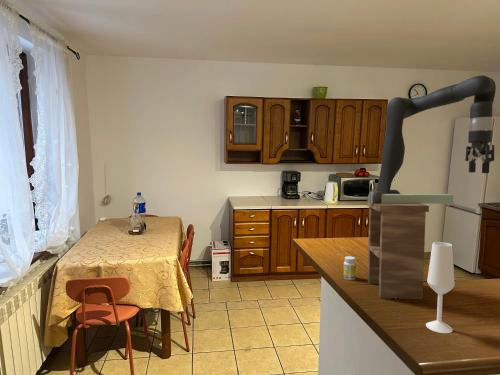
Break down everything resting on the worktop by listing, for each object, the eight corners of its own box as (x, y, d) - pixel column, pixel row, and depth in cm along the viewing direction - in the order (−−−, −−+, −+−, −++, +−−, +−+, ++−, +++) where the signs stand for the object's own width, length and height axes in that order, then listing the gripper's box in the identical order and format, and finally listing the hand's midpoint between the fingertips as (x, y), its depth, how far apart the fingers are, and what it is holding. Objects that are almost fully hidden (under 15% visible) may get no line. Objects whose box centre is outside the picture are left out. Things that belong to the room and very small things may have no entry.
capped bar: (367, 202, 125) (368, 191, 125) (447, 202, 123) (447, 191, 123) (371, 203, 121) (371, 192, 120) (454, 203, 119) (454, 192, 119)
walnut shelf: (365, 281, 133) (366, 200, 131) (407, 282, 132) (409, 200, 130) (377, 298, 117) (379, 205, 115) (425, 299, 116) (428, 205, 114)
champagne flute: (430, 319, 102) (433, 239, 100) (456, 327, 97) (459, 243, 95) (421, 327, 97) (424, 243, 95) (448, 335, 92) (451, 248, 90)
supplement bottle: (356, 276, 139) (356, 256, 138) (355, 280, 135) (356, 259, 134) (343, 275, 141) (344, 255, 140) (343, 279, 136) (343, 258, 136)
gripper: (459, 131, 137) (458, 172, 139) (481, 128, 123) (479, 173, 124) (479, 131, 137) (477, 172, 138) (503, 128, 123) (501, 173, 124)
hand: (478, 172), depth 131 cm, fingers open, 8 cm apart
